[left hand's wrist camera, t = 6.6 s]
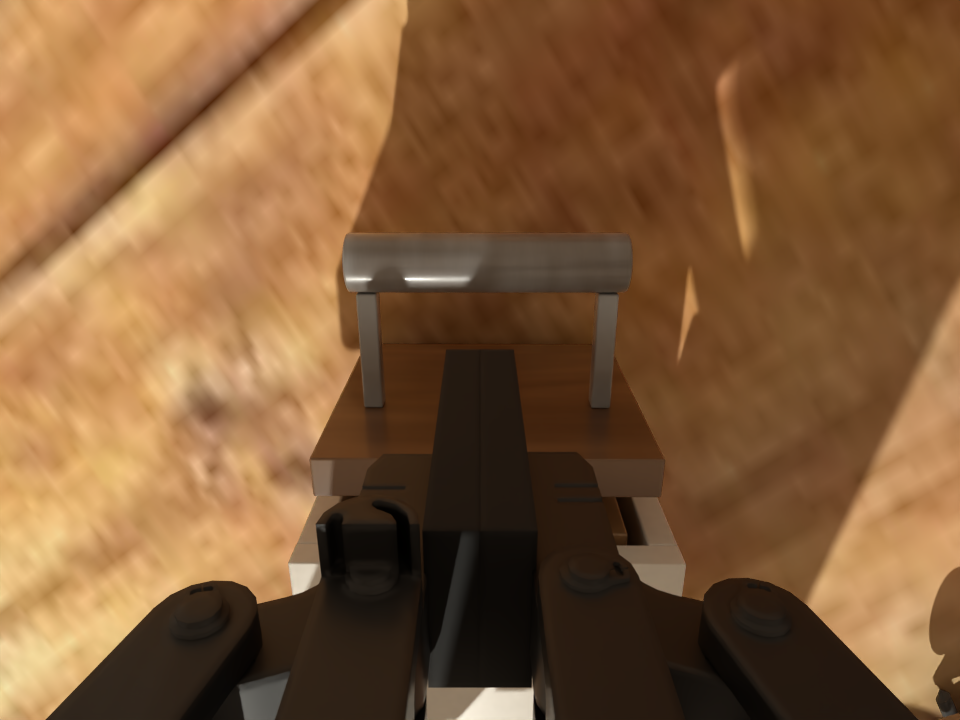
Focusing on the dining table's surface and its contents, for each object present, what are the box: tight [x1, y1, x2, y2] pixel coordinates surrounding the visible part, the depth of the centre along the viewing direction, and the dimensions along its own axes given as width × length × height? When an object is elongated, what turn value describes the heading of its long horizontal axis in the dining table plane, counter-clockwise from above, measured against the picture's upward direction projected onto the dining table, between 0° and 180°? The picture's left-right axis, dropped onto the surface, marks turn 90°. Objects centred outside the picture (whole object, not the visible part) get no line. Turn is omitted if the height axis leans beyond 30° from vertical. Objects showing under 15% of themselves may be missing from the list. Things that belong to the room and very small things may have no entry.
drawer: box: [310, 233, 665, 546], centre depth 24 cm, size 23×10×9 cm, turn 0°
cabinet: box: [288, 496, 686, 720], centre depth 26 cm, size 19×11×11 cm, turn 0°
